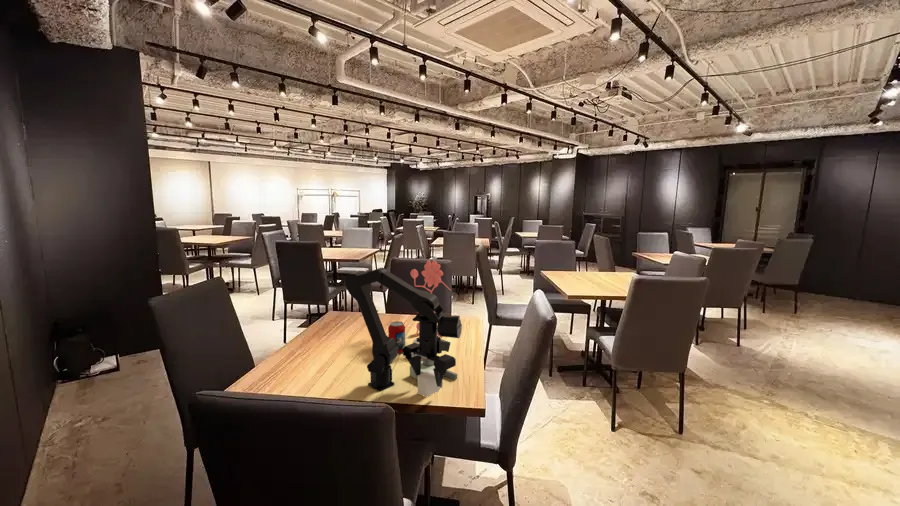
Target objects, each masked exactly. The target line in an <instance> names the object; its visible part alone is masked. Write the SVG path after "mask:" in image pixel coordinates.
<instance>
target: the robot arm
mask: <svg viewBox="0 0 900 506" xmlns="http://www.w3.org/2000/svg"><path fill="white" fill-rule="evenodd" d="M343 282H344V286H345V288H346V290H347V292H348V293H349V295H350V296H351V297H352V298H353V299H354V300H355V301H356V302H357V304H358V308H359V310H360V313H361V316H362V317H363V320H364V322H365V325H366V328H367V330H368V334H369V337H370V338H371V342H372V344H371V345H372V346H371V347H372V348H371V354H372V357H373V359H372V360H371V361H370V362H369V363H368V364H367V365H366V368H367V371H368V372H369V373H370V382H368V383H367V386H369V387H370V388H372V389H374V390H376V391H377V392H381V391H383V390H385V389H388V388H389V387H392V386H394V385H395V382H394V381H393V369H392V365H391V364H393V361H395V360H396V358H397V357H398V355H399V354H398V349H399V348H398V347H397V345H396V342H395V339H394V338H392V339H390V338H389V337H388V335H387V334H386V331H385V329H384V327H383V326H384V325H383V323H382V321H381V318H380V316H379V313H378V310H377V307H376V305H375V303H374V299H373V297H372V283H373V284H374V283H379V284H381V285H382V286H384V287H385V288H387V289H388V290H389V291H391V292H393V293H395V294H397V295H398V296H399V297H401V298H403V299H404V300H406V301H407V302H408V304H410V306H411V307H412V309H414V310H415V311H416V313H417V312H418V313H417V314H416V315H415V316H414V317H412V321H413V322H418V323H419V330H418V333H419V335H418V336H419V337H417V338H415V339H416V341H417V342H419V344H417V343H413V342H412V343H410V344H408V345H405V347H404V348H403V353H402V356H404V358H405V359H406V360H407V362H408V363H409V364H410V366H411V367H412V368H413V370H414V372H415V374H416V376H417V377H418V375H420V374H421V361H422V360H423V357H424V358H426V359H429V360H432V361H434V367H435V368H434V369H433V370H434V375H435V380H436V384H437V386H438V387H439V386H440V385H441V383H442V384H443V380H444V378H445V376H444V375H445V373H446V371H447V370H449V369H451V368H454V367H456V365H457V364H456V362H457V361H456V358H455V357H454V356H452V355H449V354H447V353H449V351H450V347H451V342H450V341H448V340H445V339H442V338H452V339H460V338H461V334H462V328H463V324H462V320H461V317H460V315H450V314H447V313H446V311H445V310H444V308H443V307H442V305H441V304H440V300H439V298H438V296H437V295H435V294H434V293H432V294H431V292H430V291H427V290H421V289H418V288H416V287H415V286H412V285H410V284H409V283H408V282H406V281H404V280H403V279H402V278H400V277H398V276H397V275H395V274H393V273H392V272H390V271H389V270H387V269H386V268H385V267H378V268H376V269H372V270H370V271H364V270H358V271H354V272H351V273H349V274H347V275H346V277H345V279H344V281H343ZM437 331H438V334H439V335H440V336H442V338H440V337H439V336H438V335H437ZM443 352H447V353H445V354H442V353H443ZM438 354H442V355H440V356H439V355H438Z"/></svg>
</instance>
